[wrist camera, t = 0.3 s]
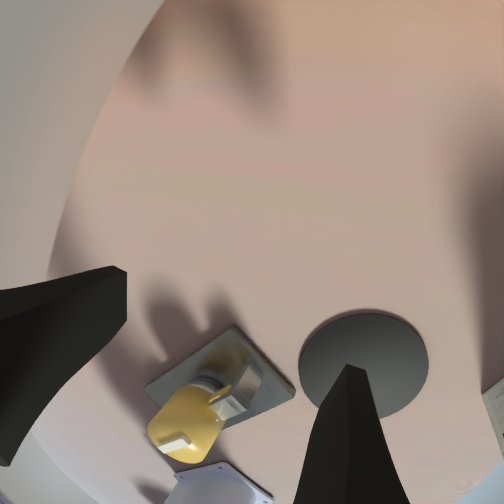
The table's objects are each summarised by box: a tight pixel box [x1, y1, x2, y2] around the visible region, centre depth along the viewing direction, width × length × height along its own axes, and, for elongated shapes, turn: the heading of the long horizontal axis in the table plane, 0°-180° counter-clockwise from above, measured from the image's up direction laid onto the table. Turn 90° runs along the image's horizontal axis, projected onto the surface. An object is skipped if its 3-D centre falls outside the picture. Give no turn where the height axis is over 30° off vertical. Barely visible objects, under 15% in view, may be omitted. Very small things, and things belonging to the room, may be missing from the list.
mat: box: [299, 314, 429, 419], centre depth 20 cm, size 9×9×1 cm
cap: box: [147, 385, 231, 463], centre depth 20 cm, size 8×4×4 cm, turn 134°
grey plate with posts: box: [143, 324, 296, 447], centre depth 22 cm, size 12×7×5 cm, turn 134°
